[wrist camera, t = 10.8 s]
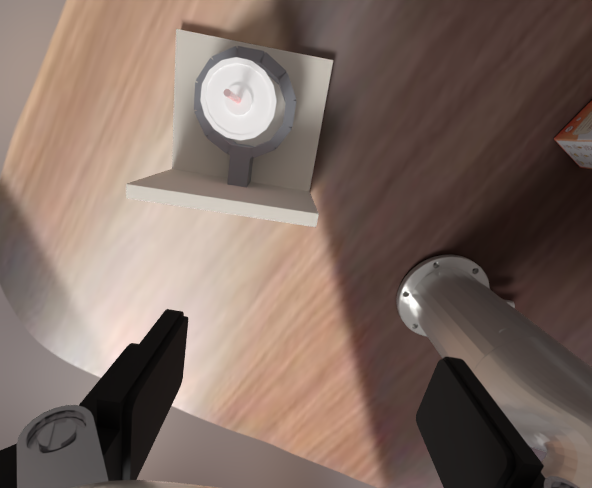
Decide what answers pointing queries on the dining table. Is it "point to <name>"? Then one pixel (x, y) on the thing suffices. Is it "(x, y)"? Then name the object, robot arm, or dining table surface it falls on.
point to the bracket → (246, 153)
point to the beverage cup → (238, 98)
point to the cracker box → (578, 138)
